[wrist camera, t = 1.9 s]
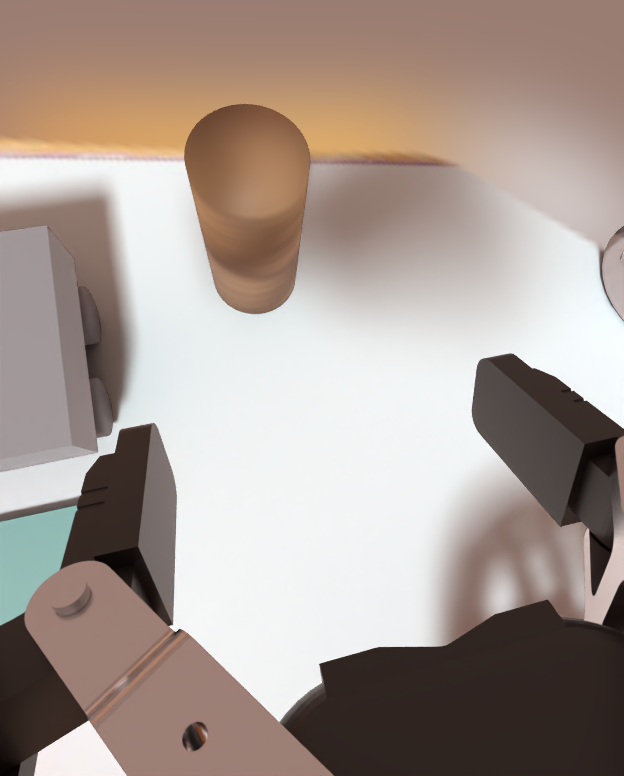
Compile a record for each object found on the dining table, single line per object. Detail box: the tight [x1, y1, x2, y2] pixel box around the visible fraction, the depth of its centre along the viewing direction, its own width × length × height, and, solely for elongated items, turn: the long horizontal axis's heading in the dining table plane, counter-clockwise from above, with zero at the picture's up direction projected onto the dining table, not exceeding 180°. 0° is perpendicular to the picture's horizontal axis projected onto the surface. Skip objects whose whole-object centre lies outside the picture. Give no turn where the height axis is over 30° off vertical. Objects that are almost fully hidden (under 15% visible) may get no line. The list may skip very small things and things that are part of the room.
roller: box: [184, 104, 310, 314], centre depth 23 cm, size 5×5×10 cm
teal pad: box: [0, 505, 77, 625], centre depth 22 cm, size 9×9×1 cm
